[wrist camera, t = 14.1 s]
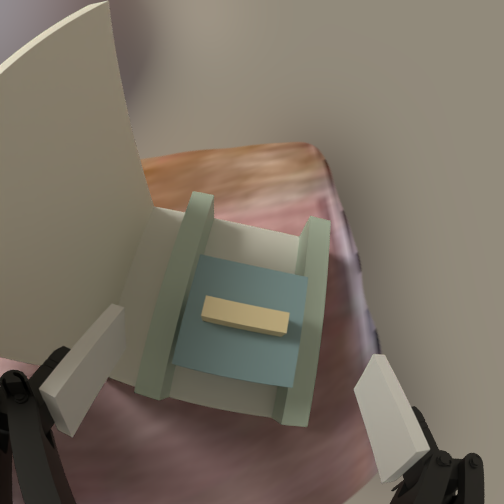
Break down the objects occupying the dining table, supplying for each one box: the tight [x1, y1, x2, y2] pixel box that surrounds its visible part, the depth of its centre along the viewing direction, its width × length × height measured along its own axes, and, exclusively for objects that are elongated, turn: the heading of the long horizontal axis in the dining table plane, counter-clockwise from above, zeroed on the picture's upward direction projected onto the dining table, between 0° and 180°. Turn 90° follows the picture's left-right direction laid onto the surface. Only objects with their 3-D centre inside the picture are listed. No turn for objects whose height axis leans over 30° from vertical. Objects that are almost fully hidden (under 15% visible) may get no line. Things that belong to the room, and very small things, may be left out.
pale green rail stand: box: [0, 1, 330, 427], centre depth 16 cm, size 20×18×24 cm
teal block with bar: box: [172, 254, 308, 388], centre depth 18 cm, size 6×6×12 cm
